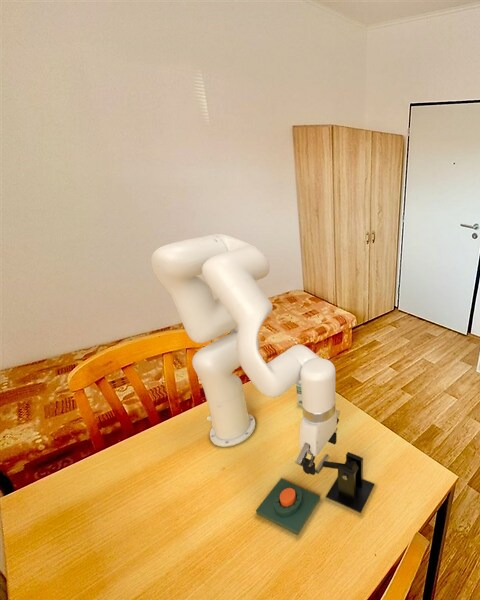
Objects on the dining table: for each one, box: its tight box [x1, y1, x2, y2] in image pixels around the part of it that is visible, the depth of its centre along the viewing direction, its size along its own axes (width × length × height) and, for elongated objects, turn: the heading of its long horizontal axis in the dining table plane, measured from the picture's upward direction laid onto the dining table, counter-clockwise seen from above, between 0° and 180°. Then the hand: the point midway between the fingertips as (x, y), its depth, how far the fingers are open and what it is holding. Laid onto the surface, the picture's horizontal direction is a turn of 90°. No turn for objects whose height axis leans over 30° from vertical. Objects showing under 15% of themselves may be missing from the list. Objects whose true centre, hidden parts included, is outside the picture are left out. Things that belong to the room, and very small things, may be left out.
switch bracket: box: [325, 451, 375, 514], centre depth 81 cm, size 10×8×12 cm
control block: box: [255, 477, 321, 536], centre depth 78 cm, size 12×9×4 cm
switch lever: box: [315, 453, 359, 475], centre depth 81 cm, size 11×5×2 cm, turn 68°
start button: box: [280, 488, 296, 507], centre depth 77 cm, size 4×4×2 cm
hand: (320, 456), depth 82 cm, fingers open, 9 cm apart
